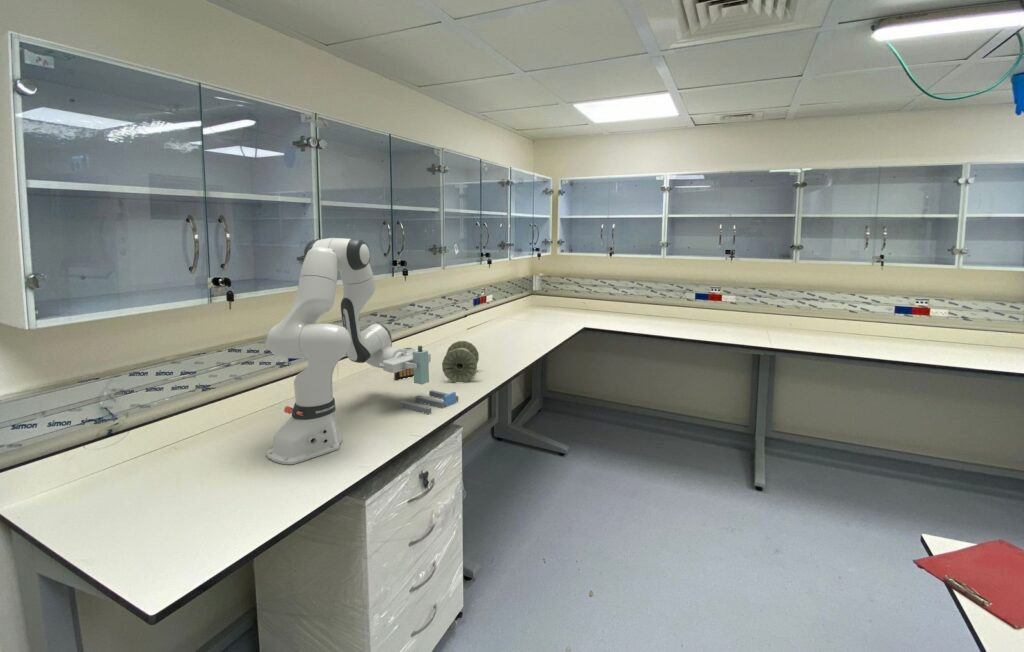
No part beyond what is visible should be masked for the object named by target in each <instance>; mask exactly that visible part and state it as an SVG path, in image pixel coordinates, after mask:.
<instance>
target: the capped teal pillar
mask: <svg viewBox="0 0 1024 652" xmlns="http://www.w3.org/2000/svg"><path fill="white" fill-rule="evenodd" d="M416 350H417V351H414V352H413V363H418V364H419V368H417V369H413V373H414V377H413V384H417V385H425V384H428V383H429V382H430V373H429V371H430V368H429V367H430V366H429V365H430V363H429V364H428V352H429V351H428V350H424V349H423V345H417V349H416Z"/></svg>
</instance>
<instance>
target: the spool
mask: <svg viewBox="0 0 1024 652" xmlns="http://www.w3.org/2000/svg"><path fill="white" fill-rule="evenodd" d="M479 356H480V355H479V352H478V349H477V347H476V346H475V345H474V344H473V343H472V342H470V341H467V340H458V341H455V342H453V343H452V344H451V345H450V346H448V348H447V351H446V353H445V356H444V358H443V360H442V362H441V364H442V365H441V366H442V367H441V369H442V372H443V374H444V376H445V377H446V378H447V379H448V380H449V381H450V382H453V383H456V382H464V383H467V382H469V381H470V380H472V378H474V376H475V374H476V373H477V370H478V363H479V361H480V358H479Z"/></svg>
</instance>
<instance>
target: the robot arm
mask: <svg viewBox="0 0 1024 652" xmlns="http://www.w3.org/2000/svg"><path fill="white" fill-rule="evenodd" d="M303 257H304V259H303V263H302V266H301V270H300V274H299V280H298V285H297V291H296V295H295V299H294V301H293V304H292V306H291V309H290V311H288V313H287V314H286V315H285V316H284V318H283V319H282V320H281V321H279V322H278V323H276V324H275V325H273V326H272V327H271V329H270V330H269V331H268V334H267V337H266V344H267V348H268V350H269V351H270V353H272V355H275V356H277V357H278V356H279V357H281V358H285V359H304V360H305V359H306V360H307V368H306V369H304V370H302V371H300V372H299V373H298V374H297V375H296V376H295V378H294V380H293V387H294V388H293V389H294V397H295V400H294V401H295V402H294V404H293V407H291V406H287V405H286V406H285V407H284V409H283V412H285V413H286V414H289V415H290V414H291V417H290V418H289V419H288V420H287V421H286V422H285V423H284V424H283V425H282V426H281V427H280V428H279V429H278V430H277V432H276V433H275V435H274V437H273V438H274V439H273V447H271V448H269V449H267V450H266V451H265V452H266V454H265V455H266V457H267V459H269V460H270V459H271V460H270V461H273V462H275V463H279V464H282V465H295V464H298V463H301V462H305V461H307V460H311V459H313V458H317V457H319V456H322V455H325V454H328V453H329V454H330V453H332V452H335V451H338V450H339V449H340V444H341V443H342V441H343V438H342V435H341V433H340V430H339V427H338V423H337V422H338V421H337V417H336V409H337V408H336V402H335V401H336V400H335V397H334V396H333V393H334V392H333V374H334V370H335V368H336V366H337V364H338V362H340V360H342V358H343V357H345V356H346V357H347V358H348V359H349V361H351V362H354V363H358V364H363V363H366V364H368V365H370V366H372V367H374V368H379V369H382V370H383V371H384V372H387V373H390V374H394V373H396V372H400V371H403V370H406V369H411V368H413V369H417V368H419V364H418V363H413V352H414V351H417V350H418V349H415V348H414V347H406V348H405V347H404V348H400V347H393V340H392V335H391V332H390V329H388V328H387V327H386V326H385V325H383V324H381V323H373V324H371V325H370V326H368V327H366V328H365V329H364V330H363V331H361V330H360V323H359V317H360V314H361V311H362V310H363V308H364V307H365V305H366V304H367V303H368V301H369V300H371V298H372V297H373V295H374V294H375V291H376V282H375V281H376V280H375V277H374V274H373V269H372V267H371V264H370V260H371V250H370V247H369V245H368V244H367V243H366V242H365V241H364V240H363V239H360V238H353V237H352V238H345V237H344V238H341V237H339V238H337V237H329V238H323V239H320V238H317V239H313V240H310V241H308V243H306V246H305V247H304V249H303ZM338 272H339V274H340V279H341V282H342V286H343V292H342V293H343V295H342V299H341V302H340V312H341V313H340V314H341V321H342V325H338V324H333V323H316V322H317V320H318V319H319V318H320V317H321V316H322V315H325V314H327V313H328V312H330V311H331V310H332V309H333V306H334V304H335V298H336V290H337V282H338ZM431 359H432V357H431V353H430V352H429V351H428V364H429V365H430V363H431Z"/></svg>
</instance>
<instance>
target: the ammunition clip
mask: <svg viewBox="0 0 1024 652" xmlns="http://www.w3.org/2000/svg"><path fill="white" fill-rule="evenodd" d="M393 374H394V376H393V378H394V380H395V381H400V380H399V379H401V380H404V379H403V378H405V379H409V378H408V377H410V378H414V377H413V376H414V373H413V368H411V369H406V370H403V371H400V372H396V373H393Z"/></svg>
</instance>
